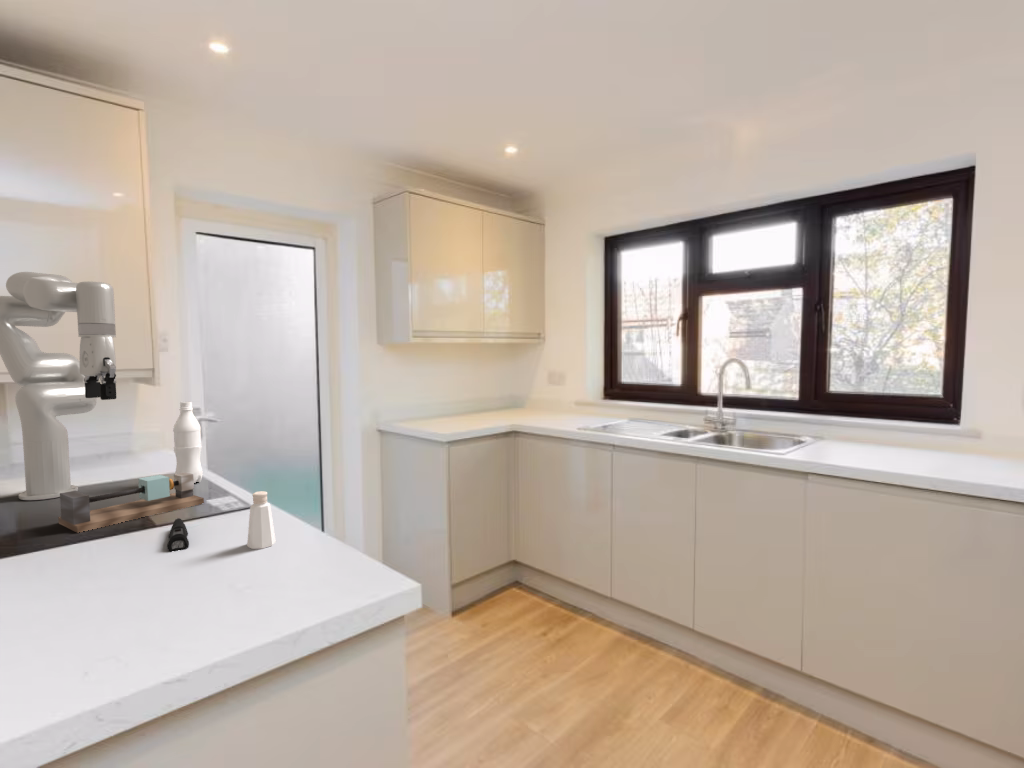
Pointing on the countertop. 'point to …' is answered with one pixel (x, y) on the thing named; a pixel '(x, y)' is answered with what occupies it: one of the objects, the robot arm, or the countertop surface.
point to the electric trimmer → (178, 536)
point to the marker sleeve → (154, 487)
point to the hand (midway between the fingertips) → (100, 398)
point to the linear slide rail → (124, 505)
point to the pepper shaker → (260, 523)
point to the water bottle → (188, 442)
